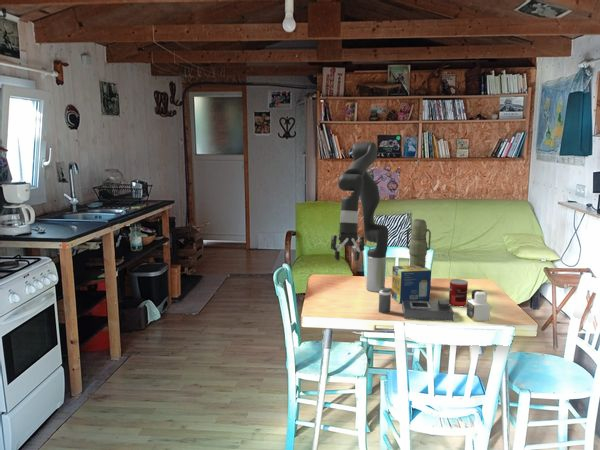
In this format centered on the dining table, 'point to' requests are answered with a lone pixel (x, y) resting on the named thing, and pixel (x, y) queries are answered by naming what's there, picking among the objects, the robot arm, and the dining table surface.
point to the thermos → (418, 242)
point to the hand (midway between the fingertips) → (346, 260)
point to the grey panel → (427, 310)
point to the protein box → (411, 283)
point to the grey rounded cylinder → (384, 300)
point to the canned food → (458, 292)
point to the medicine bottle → (478, 306)
